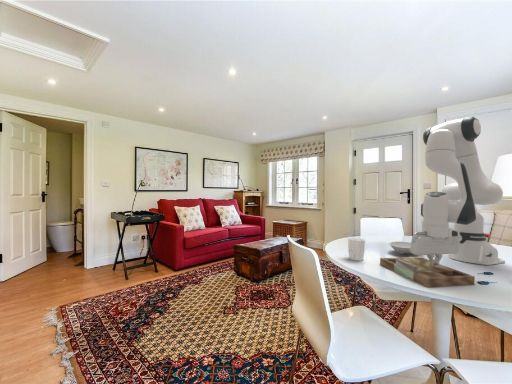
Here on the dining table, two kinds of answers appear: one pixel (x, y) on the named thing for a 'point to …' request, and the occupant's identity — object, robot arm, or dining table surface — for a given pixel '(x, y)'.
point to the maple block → (419, 263)
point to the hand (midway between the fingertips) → (434, 264)
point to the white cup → (356, 248)
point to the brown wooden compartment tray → (428, 273)
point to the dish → (401, 246)
